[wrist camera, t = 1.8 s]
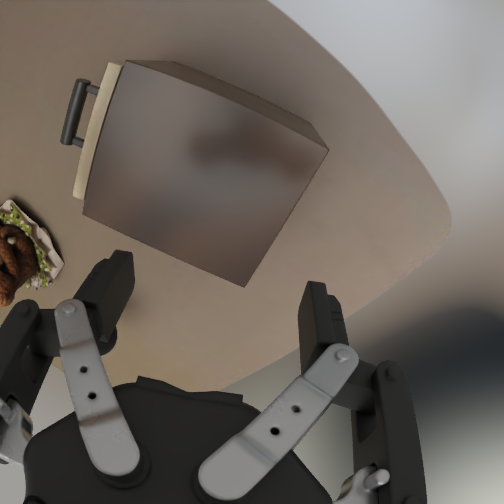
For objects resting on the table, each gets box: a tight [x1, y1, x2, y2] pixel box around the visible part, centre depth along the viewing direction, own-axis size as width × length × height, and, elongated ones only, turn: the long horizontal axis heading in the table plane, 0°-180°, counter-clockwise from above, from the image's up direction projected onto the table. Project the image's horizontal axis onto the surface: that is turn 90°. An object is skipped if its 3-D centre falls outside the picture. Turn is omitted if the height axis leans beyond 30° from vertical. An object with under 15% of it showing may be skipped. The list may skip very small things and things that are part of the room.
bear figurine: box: [0, 200, 64, 306], centre depth 33 cm, size 14×15×12 cm
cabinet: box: [82, 60, 329, 287], centre depth 25 cm, size 15×13×11 cm
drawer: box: [60, 62, 125, 201], centre depth 24 cm, size 18×11×9 cm, turn 64°
